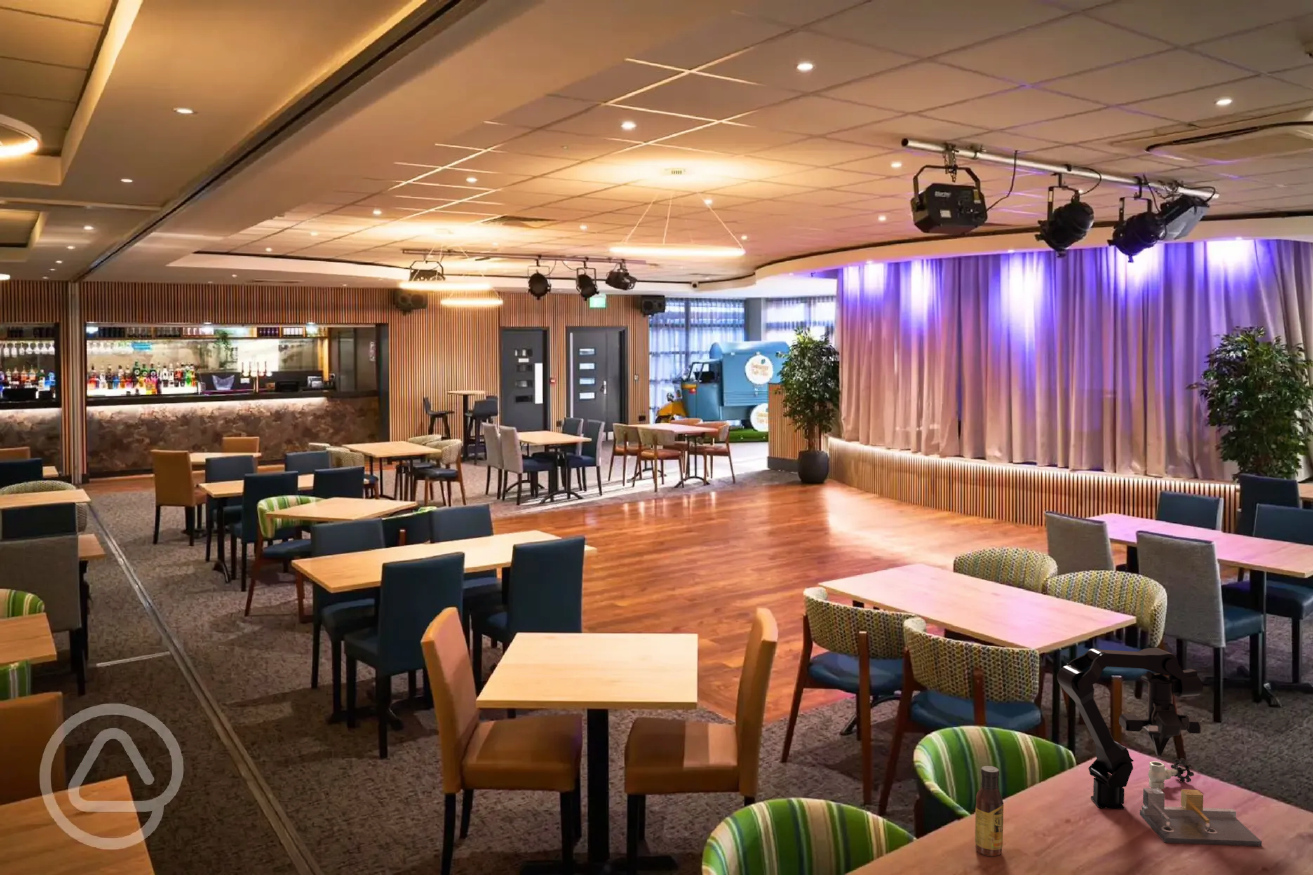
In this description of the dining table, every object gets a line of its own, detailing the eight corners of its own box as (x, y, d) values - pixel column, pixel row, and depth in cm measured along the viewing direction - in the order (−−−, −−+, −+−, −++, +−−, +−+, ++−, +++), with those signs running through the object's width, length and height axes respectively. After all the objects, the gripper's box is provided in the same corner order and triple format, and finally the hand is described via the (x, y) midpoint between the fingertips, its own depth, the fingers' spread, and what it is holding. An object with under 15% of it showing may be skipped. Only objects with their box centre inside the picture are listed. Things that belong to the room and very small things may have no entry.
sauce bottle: (999, 860, 223) (1000, 776, 222) (971, 853, 227) (972, 771, 225) (1005, 848, 229) (1006, 767, 228) (978, 841, 232) (979, 761, 231)
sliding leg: (1199, 829, 234) (1200, 807, 234) (1180, 810, 244) (1181, 789, 244) (1216, 830, 234) (1217, 808, 233) (1197, 811, 244) (1197, 789, 244)
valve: (1160, 793, 258) (1193, 786, 263) (1161, 769, 258) (1194, 762, 262) (1140, 783, 264) (1173, 776, 269) (1141, 760, 264) (1173, 753, 268)
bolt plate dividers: (1164, 842, 231) (1165, 813, 231) (1139, 814, 246) (1140, 787, 246) (1261, 846, 229) (1262, 817, 228) (1230, 817, 244) (1231, 789, 243)
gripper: (1135, 706, 246) (1133, 766, 247) (1212, 709, 244) (1210, 768, 245) (1118, 692, 257) (1117, 749, 258) (1192, 694, 255) (1190, 751, 256)
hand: (1158, 755), depth 254 cm, fingers closed
